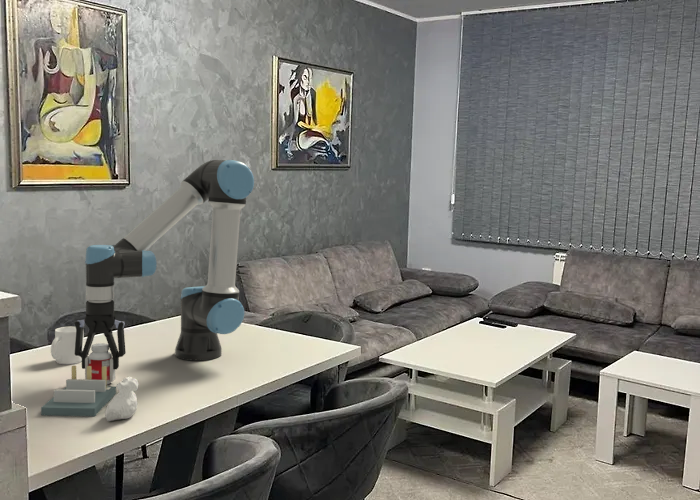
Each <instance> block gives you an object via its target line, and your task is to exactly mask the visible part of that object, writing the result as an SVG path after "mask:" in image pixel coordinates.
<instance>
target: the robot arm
mask: <svg viewBox="0 0 700 500" xmlns="http://www.w3.org/2000/svg"><path fill="white" fill-rule="evenodd" d="M254 186H255V178H254V174H253V172H252V170H251V169H250V168H249V167H248V165H247V164H246V163H244V162H242V161H239V160H233V159H221V160H220V159H213V160H212V159H211V160H209V161H206V162H204V163H203V164H201V165H200V166H198V167H197V168H196V169H194V170H193V171H192V172H190V174H189V175H188V176H187V177H185V178H184V179H183V180H182V181H181V182H180V187H179V188H178V189H176V191H174V193H172V194H171V195H170V196H169V197H168V198H167V199H165V200H164V201H163V202H162V203H161V204H160V205H158V206H157V207H156V208H155V209H154V210H153V211H152V212H151V213H150V214H149V215H148V216H146V217H145V218H144V219H143V220H142V221H141V222H140V223H138V224H137V225H136V226H135V227H134V228H132V230H131V231H130V232H128V233H127V234H126V235H125V236H123V238H121V239H120V240H119V241H118V242H117V243H115V244H112V245H110V244H93V245H88V246H87V248H86V251H85V260H84V261H85V262H84V264H85V300H86V301H85V317H84V319H78V320H76V321H74V327H76V341H75V355H76V356H80V357H81V358H82V362H81V369H84V370H85V371H84V379H85V380H87V366H89V355H90V351H91V347H92V345H93V341H94V338H95V335H96V334H99V333H100V334H103V335H104V337H105V339H106V342H107V344H108V345H109V352H110V353H111V355H112V358H111V359H110V382H111V383H113V382H114V381H115V380H116V370H118V369H119V367H120V365H119V364H120V358H121V357H124V356H125V355H126V339H125V326H126V321H125V320H122V321H121V320H117V319H116V316H115V301H114V299H115V279H123V278H125V279H126V278H140V277H141V278H145V277H151V276H153V275H154V274H155V273H156V270H157V264H158V263H157V257H156V255H155V253H154V252H153V251H151V250H148V249H150V248H151V247H152V246H153V245H154V244H155V243H156V242H157V241H158V240H159V239H161V237H163V236H164V235H165V234H166V233H167V232H169V231H170V230H171V228H173V227H174V226H175V225H176V224H177V223H178V222H180V221H181V220H182V219H183V218H184V217H186V215H187V214H188V213H189V212H190V211H192V210H193V209H194V208H195V207H196V206H197V205H199V206H200V205H203V204H204V203H205V202H206V201H208V203H209V205H210V206H211V207H212V214H211V215H212V217H211V231H210V243H209V244H210V245H209V259H208V270H207V273H208V274H207V283H206V285H204V286H203V285H201V286H192V287H191V286H190V287H189V286H188V287H184V288H183V289H181V295H180V333H179V337H178V339H177V343H176V345H175V349H174V352H175V353H174V355H175V356H174V357H175V358H178V359H181V360H184V361H185V360H186V361H209V360H214V359H217V358H219V357H222V354H223V353H222V352H223V351H222V350H223V349H222V344H221V342H220V338H219V336H218V334H219V335H228V334H231V333H234V332H235V331H236V330H237V329H238V328H239V327H240V326H241V325H242V323H243V321H244V318H245V308H244V306H243V304H242V302H241V301H240V290H239V288H237V286H236V276H237V275H236V274H237V263H238V250H239V249H238V248H239V237H240V236H239V235H240V220H241V211H242V209H244V208H245V206H246V205H247V197H249V195H250V194H252V192H253V189H254ZM85 325H86V326H87V327H88V328H89V329H88V333H87V337H86V340H85V343H84V349H83V351H82V343H83V329H84V327H85ZM114 325H115V328H116V329H117V331H116V335H117V343H116V341H115V337H114V335H113V330H112V327H113V326H114Z"/></svg>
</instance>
